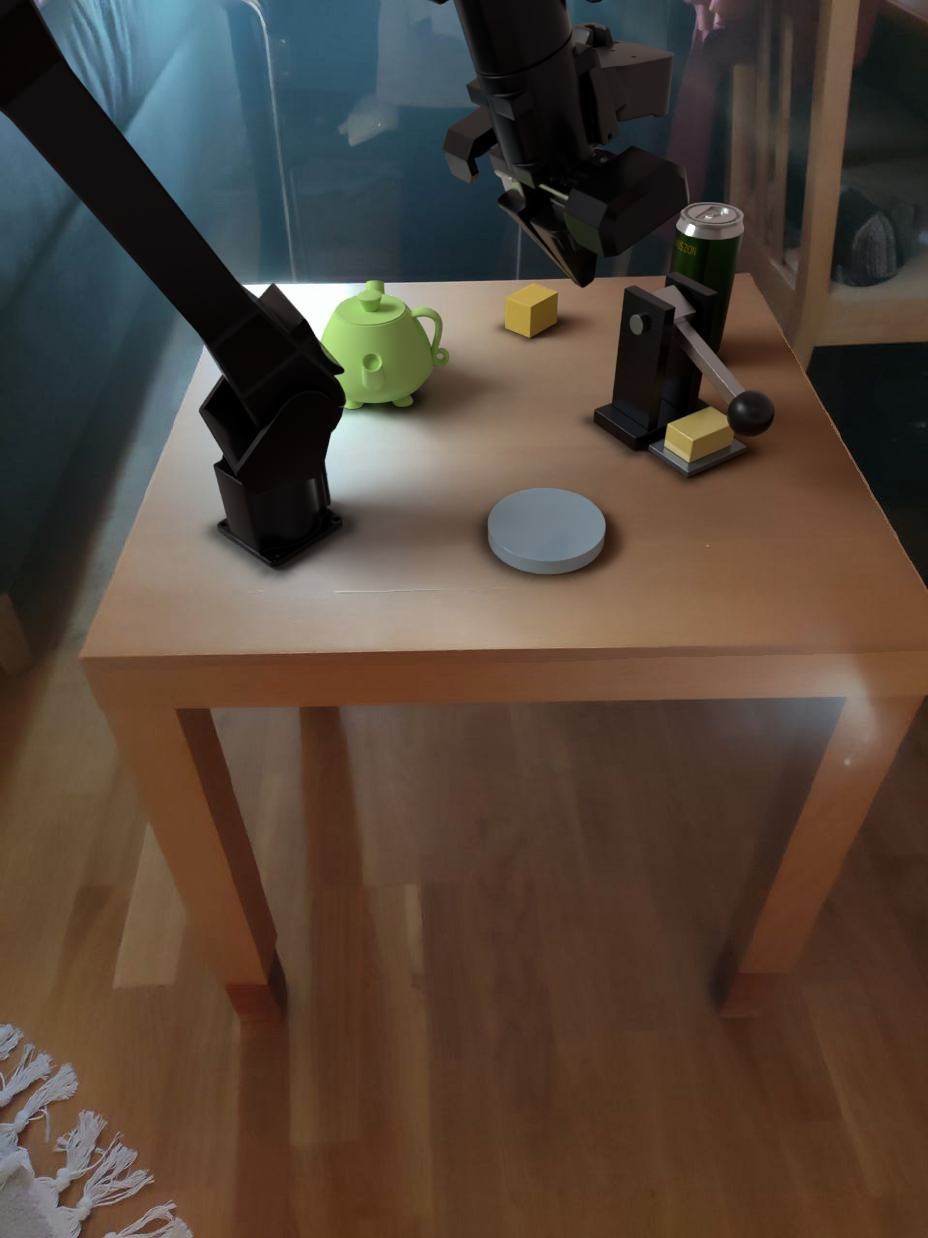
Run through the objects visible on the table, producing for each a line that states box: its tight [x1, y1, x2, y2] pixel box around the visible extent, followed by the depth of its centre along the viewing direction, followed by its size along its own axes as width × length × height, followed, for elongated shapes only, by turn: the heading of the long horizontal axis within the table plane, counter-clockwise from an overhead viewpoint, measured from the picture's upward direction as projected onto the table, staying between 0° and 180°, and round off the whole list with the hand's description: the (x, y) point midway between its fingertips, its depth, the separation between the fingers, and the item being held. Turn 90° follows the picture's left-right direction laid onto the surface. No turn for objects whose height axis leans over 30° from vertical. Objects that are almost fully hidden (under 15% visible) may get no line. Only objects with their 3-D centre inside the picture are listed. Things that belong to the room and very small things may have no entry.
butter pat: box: [504, 282, 559, 339], centre depth 82 cm, size 4×3×3 cm
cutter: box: [592, 272, 718, 451], centre depth 68 cm, size 5×8×11 cm, turn 123°
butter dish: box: [648, 406, 748, 478], centre depth 67 cm, size 4×6×2 cm
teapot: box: [320, 279, 451, 410], centre depth 72 cm, size 11×12×8 cm
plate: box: [487, 487, 607, 575], centre depth 61 cm, size 8×8×1 cm
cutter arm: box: [650, 285, 776, 438], centre depth 63 cm, size 13×3×3 cm, turn 33°
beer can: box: [668, 201, 745, 356], centre depth 75 cm, size 5×5×12 cm
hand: (585, 282), depth 61 cm, fingers closed
